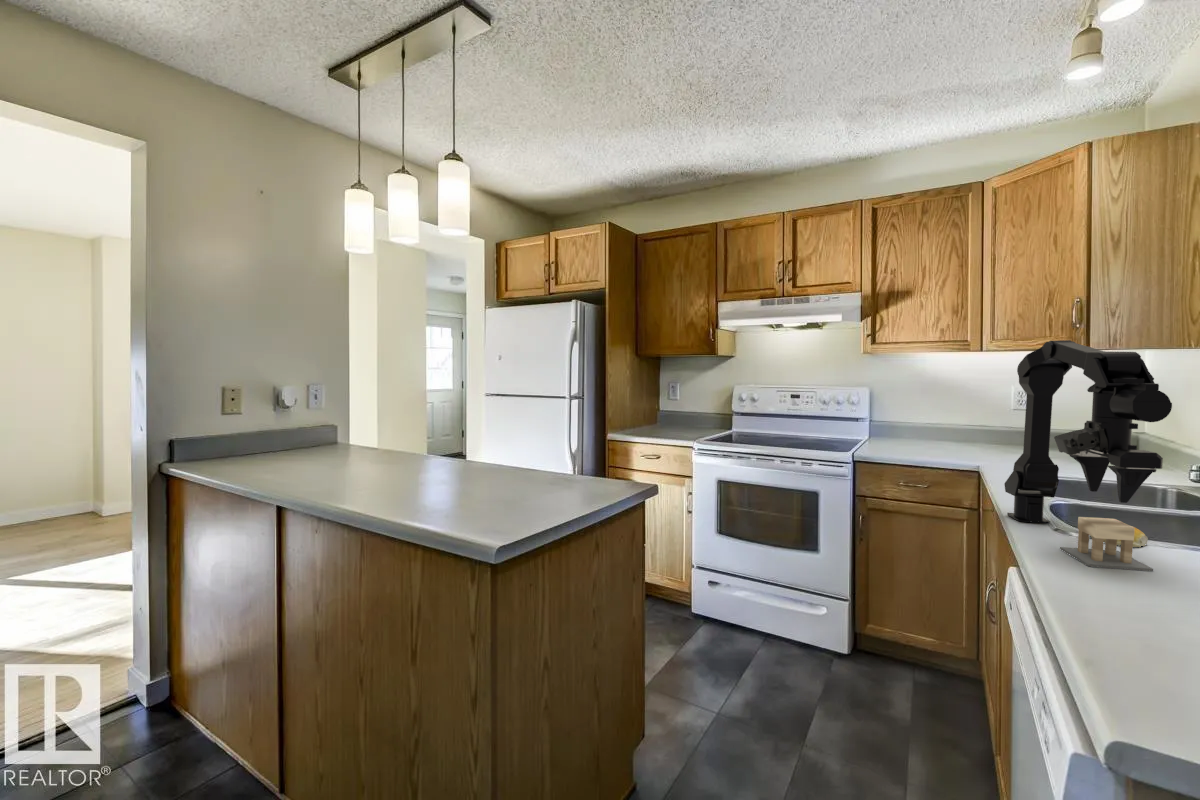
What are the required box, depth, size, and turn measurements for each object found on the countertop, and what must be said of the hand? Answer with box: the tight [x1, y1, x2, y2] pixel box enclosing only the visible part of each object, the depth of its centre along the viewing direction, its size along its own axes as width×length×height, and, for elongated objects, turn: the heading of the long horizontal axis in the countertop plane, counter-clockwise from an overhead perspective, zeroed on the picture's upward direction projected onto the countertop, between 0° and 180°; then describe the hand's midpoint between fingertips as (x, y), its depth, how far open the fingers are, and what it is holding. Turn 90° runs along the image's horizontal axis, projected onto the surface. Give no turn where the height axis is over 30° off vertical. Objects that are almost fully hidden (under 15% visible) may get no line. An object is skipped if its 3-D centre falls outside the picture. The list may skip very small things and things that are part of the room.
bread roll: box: [1089, 526, 1149, 548], centre depth 118 cm, size 8×9×4 cm
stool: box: [1077, 516, 1136, 564], centre depth 107 cm, size 6×6×7 cm
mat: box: [1059, 546, 1154, 572], centre depth 107 cm, size 10×10×1 cm
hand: (1107, 496), depth 106 cm, fingers open, 9 cm apart
